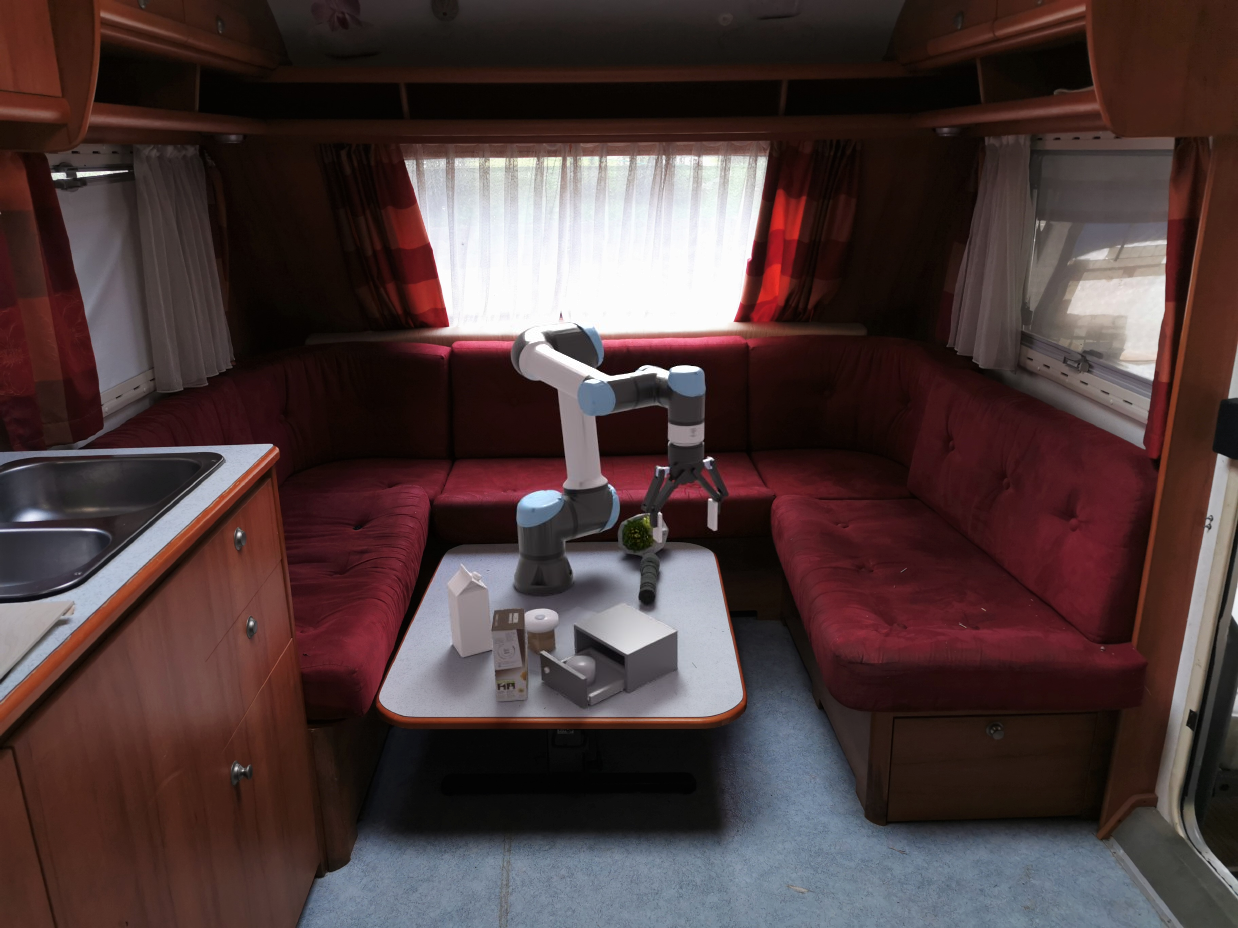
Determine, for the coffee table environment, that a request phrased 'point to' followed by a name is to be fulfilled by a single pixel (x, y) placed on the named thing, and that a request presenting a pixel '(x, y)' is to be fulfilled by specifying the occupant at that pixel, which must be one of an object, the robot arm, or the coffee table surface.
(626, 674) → the housing
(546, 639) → the brown boxy piece
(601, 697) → the drawer
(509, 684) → the coffee box
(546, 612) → the disc
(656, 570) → the flashlight
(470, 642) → the milk carton
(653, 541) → the potted plant
